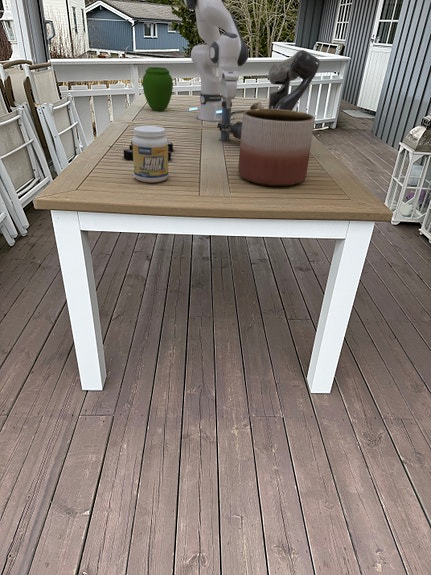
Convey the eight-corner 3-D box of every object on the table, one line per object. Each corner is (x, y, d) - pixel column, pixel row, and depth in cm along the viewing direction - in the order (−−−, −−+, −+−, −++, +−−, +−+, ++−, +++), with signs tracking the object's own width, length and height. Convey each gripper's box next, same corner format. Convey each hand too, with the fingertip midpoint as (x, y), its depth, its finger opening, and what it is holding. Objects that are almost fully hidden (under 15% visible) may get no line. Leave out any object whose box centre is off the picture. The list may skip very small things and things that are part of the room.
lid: (228, 107, 193) (229, 103, 191) (219, 106, 195) (219, 101, 193) (233, 106, 196) (234, 101, 195) (224, 105, 198) (224, 100, 197)
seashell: (262, 114, 271) (264, 101, 267) (264, 116, 267) (266, 102, 262) (248, 114, 270) (249, 101, 266) (250, 115, 265) (251, 102, 261)
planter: (315, 188, 145) (327, 122, 133) (246, 188, 141) (252, 121, 129) (292, 167, 166) (301, 109, 155) (231, 167, 162) (235, 107, 150)
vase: (143, 107, 275) (142, 66, 262) (173, 108, 277) (172, 67, 264) (142, 112, 259) (140, 68, 246) (173, 113, 261) (173, 70, 248)
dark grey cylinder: (219, 138, 205) (221, 102, 196) (228, 139, 206) (230, 102, 197) (221, 141, 202) (222, 104, 193) (229, 141, 202) (232, 104, 193)
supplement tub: (139, 184, 140) (136, 133, 131) (130, 174, 149) (127, 125, 140) (173, 181, 144) (172, 131, 135) (162, 172, 153) (161, 124, 144)
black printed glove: (122, 152, 163) (135, 135, 189) (122, 159, 165) (135, 142, 190) (169, 154, 164) (176, 137, 189) (170, 161, 165) (176, 144, 191)
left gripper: (217, 72, 196) (215, 103, 203) (225, 76, 179) (223, 110, 186) (229, 72, 197) (228, 103, 205) (239, 76, 180) (237, 110, 188)
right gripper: (256, 121, 192) (233, 115, 204) (232, 124, 185) (210, 117, 196) (255, 138, 196) (232, 131, 208) (231, 141, 189) (210, 134, 200)
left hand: (226, 106), depth 195 cm, fingers open, 7 cm apart
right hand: (222, 124), depth 202 cm, fingers closed on dark grey cylinder, 4 cm apart
